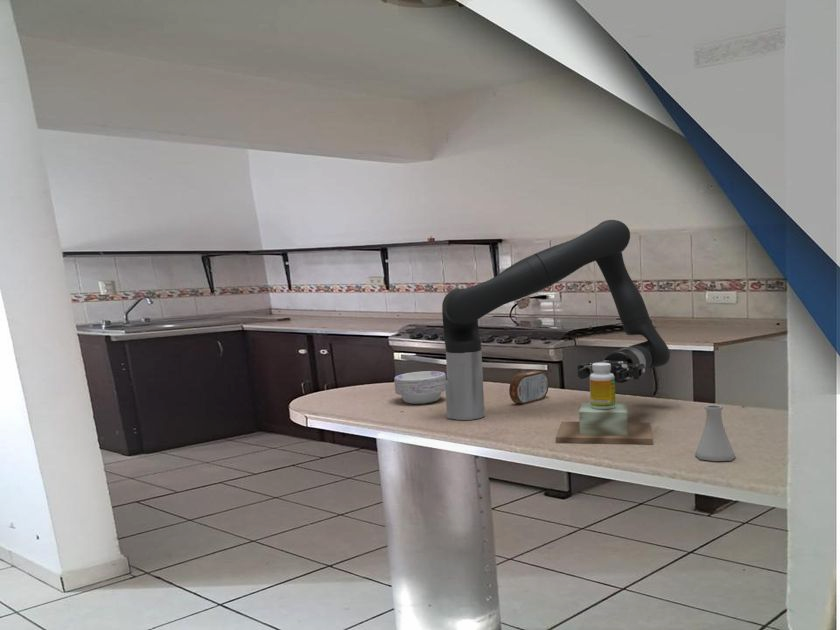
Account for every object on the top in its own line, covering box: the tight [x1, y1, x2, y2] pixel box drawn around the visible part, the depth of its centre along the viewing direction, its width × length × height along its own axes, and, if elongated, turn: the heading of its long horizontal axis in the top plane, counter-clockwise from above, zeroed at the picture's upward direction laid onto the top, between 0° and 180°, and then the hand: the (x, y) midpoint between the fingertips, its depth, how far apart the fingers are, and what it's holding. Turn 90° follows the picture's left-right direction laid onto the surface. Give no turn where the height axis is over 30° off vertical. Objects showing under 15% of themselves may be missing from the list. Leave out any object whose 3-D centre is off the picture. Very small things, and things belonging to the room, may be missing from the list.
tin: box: [508, 369, 549, 405], centre depth 197 cm, size 15×3×8 cm, turn 133°
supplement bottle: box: [589, 362, 617, 409], centre depth 156 cm, size 5×5×10 cm
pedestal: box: [555, 402, 654, 445], centre depth 156 cm, size 20×15×6 cm
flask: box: [694, 404, 736, 462], centre depth 135 cm, size 7×7×10 cm
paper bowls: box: [393, 370, 447, 405], centre depth 206 cm, size 15×15×8 cm
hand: (599, 375), depth 154 cm, fingers open, 8 cm apart
